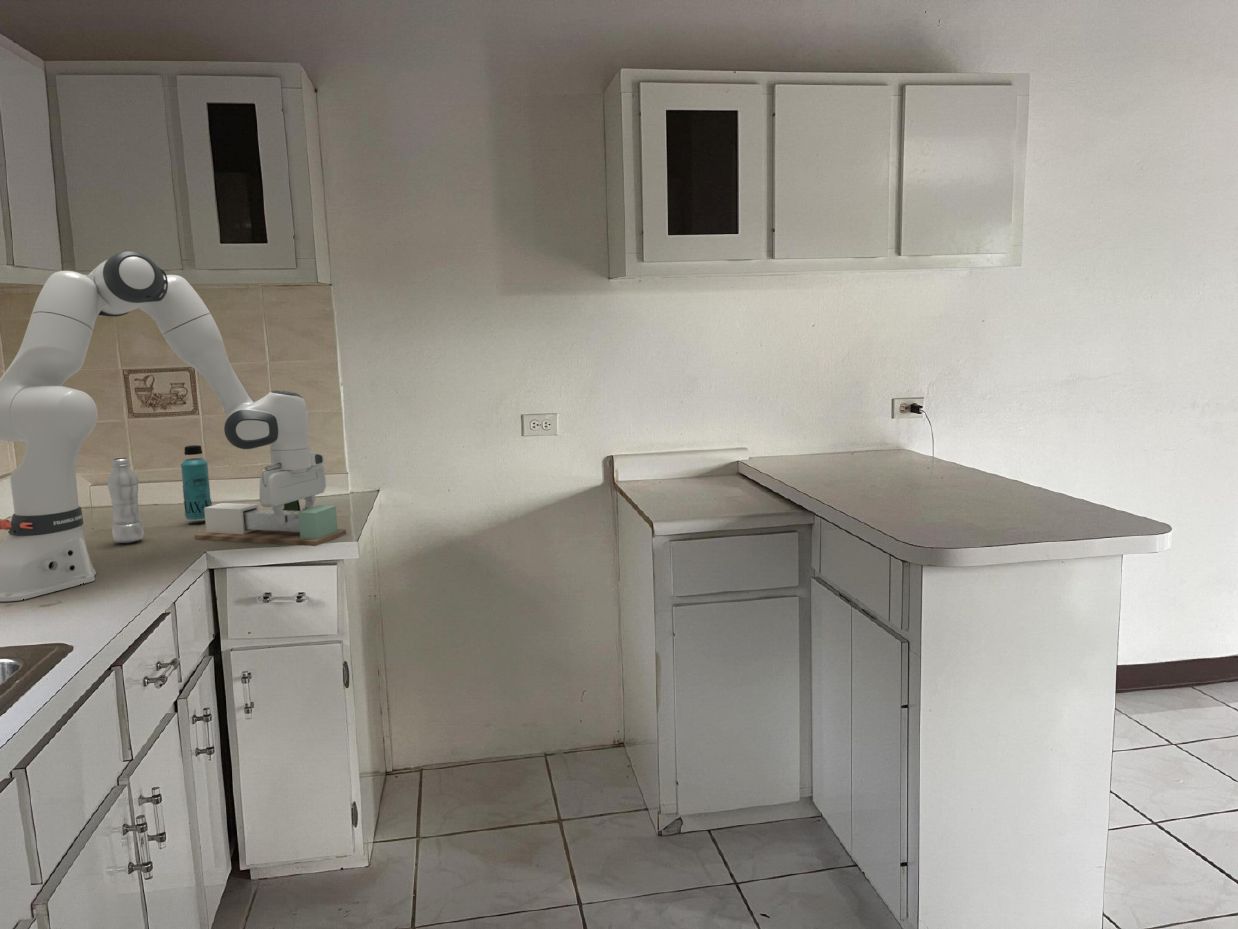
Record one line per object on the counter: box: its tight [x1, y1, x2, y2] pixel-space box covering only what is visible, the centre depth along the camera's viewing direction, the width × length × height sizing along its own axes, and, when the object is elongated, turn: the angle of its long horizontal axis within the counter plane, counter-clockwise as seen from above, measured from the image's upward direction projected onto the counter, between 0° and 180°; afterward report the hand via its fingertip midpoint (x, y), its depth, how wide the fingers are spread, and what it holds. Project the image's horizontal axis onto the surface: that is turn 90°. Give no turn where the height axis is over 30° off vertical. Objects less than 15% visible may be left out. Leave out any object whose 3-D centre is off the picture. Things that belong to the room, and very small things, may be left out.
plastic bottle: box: [106, 456, 145, 544], centre depth 221 cm, size 6×7×20 cm
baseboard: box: [193, 528, 347, 547], centre depth 224 cm, size 34×12×1 cm, turn 73°
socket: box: [298, 505, 338, 539], centre depth 220 cm, size 4×8×6 cm, turn 163°
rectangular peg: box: [244, 508, 302, 532], centre depth 223 cm, size 20×4×4 cm, turn 73°
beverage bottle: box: [180, 444, 212, 521], centre depth 241 cm, size 6×7×20 cm
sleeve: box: [204, 502, 259, 534], centre depth 227 cm, size 11×6×6 cm, turn 73°
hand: (295, 519), depth 221 cm, fingers open, 8 cm apart
